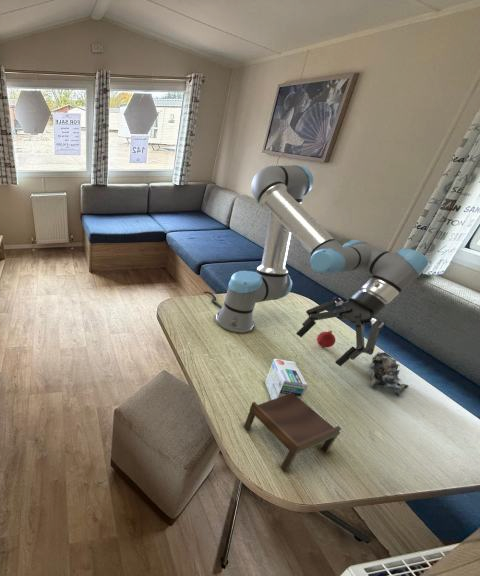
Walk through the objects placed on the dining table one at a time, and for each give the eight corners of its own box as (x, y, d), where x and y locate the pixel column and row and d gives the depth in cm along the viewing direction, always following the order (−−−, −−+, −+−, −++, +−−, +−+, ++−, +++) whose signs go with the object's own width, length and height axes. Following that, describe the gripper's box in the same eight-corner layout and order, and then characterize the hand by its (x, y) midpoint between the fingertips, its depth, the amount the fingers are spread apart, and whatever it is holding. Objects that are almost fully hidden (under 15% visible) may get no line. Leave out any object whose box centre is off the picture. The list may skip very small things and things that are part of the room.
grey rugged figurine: (353, 371, 106) (381, 341, 107) (353, 385, 112) (379, 357, 114) (395, 393, 96) (425, 361, 98) (392, 407, 103) (420, 377, 105)
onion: (328, 353, 119) (336, 337, 115) (311, 346, 123) (319, 330, 119) (333, 347, 122) (341, 331, 118) (316, 340, 126) (324, 324, 122)
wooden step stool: (242, 426, 89) (252, 402, 84) (283, 411, 94) (294, 387, 89) (284, 472, 77) (298, 447, 73) (328, 452, 82) (343, 427, 78)
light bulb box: (296, 411, 94) (309, 385, 89) (273, 407, 95) (284, 381, 90) (285, 385, 103) (295, 361, 98) (263, 382, 105) (273, 357, 99)
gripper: (328, 272, 98) (279, 321, 103) (419, 316, 78) (352, 375, 83) (336, 281, 102) (289, 328, 107) (425, 326, 82) (361, 382, 87)
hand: (316, 349), depth 95 cm, fingers open, 13 cm apart
